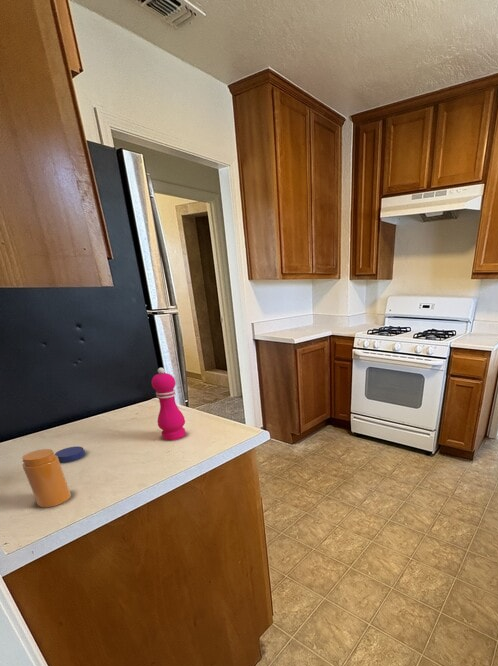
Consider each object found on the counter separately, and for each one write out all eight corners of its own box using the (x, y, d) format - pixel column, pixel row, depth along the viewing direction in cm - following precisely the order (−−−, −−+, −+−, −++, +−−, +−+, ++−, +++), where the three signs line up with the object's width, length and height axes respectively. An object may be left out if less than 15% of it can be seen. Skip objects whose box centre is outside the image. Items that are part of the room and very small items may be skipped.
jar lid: (90, 451, 93) (88, 446, 93) (73, 462, 88) (72, 457, 87) (68, 451, 94) (66, 446, 93) (50, 462, 88) (48, 456, 87)
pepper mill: (187, 429, 107) (175, 363, 99) (187, 438, 100) (174, 369, 93) (161, 433, 104) (146, 366, 96) (160, 442, 98) (144, 371, 90)
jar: (33, 509, 69) (13, 462, 65) (44, 495, 74) (27, 450, 70) (65, 504, 71) (49, 458, 67) (74, 490, 76) (59, 446, 72)
